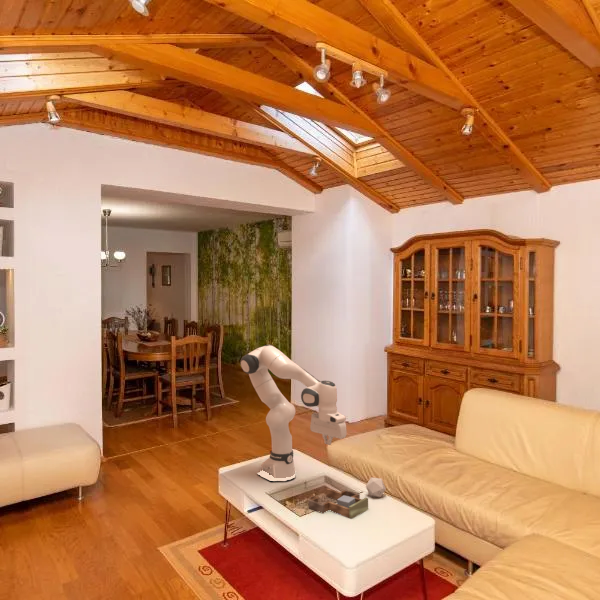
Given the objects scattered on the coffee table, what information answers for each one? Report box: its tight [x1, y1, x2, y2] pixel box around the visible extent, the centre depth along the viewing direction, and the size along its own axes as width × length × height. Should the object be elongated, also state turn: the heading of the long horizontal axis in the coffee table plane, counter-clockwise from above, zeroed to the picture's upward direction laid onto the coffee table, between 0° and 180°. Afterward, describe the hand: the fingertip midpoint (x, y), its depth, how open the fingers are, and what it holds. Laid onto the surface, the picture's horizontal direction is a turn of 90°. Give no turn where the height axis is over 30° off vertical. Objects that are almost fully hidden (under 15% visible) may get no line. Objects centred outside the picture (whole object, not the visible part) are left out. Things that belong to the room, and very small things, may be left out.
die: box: [365, 476, 387, 498], centre depth 232 cm, size 8×9×10 cm
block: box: [336, 495, 355, 508], centre depth 219 cm, size 6×6×4 cm
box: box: [308, 487, 369, 519], centre depth 221 cm, size 24×21×5 cm
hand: (327, 444), depth 230 cm, fingers closed
